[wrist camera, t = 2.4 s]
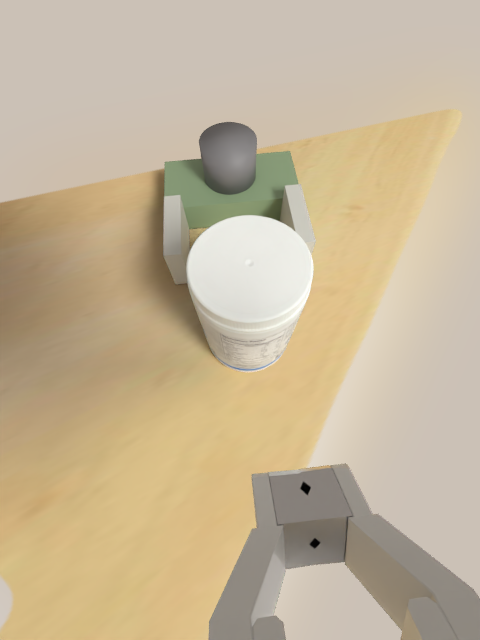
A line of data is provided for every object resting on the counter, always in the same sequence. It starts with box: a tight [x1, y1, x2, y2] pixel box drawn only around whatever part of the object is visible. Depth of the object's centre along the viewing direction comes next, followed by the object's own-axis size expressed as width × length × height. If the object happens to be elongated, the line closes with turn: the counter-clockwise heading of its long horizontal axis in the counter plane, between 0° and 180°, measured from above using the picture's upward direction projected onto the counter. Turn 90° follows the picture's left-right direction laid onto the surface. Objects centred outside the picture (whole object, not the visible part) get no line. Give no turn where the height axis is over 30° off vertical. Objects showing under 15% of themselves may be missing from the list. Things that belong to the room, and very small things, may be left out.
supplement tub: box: [186, 215, 313, 372], centre depth 27 cm, size 10×10×15 cm
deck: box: [163, 122, 316, 284], centre depth 37 cm, size 18×18×9 cm
